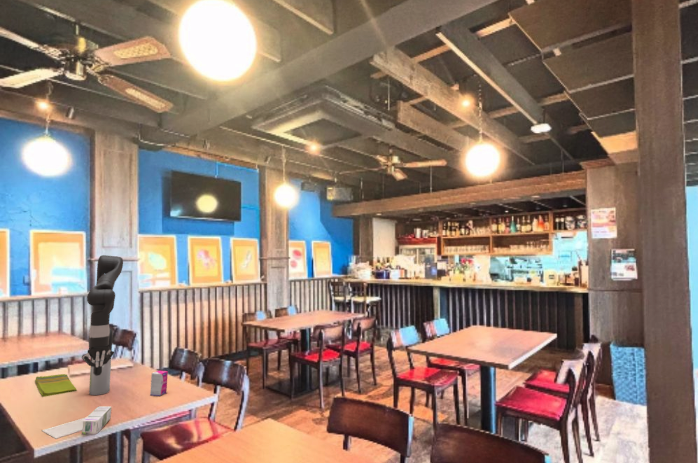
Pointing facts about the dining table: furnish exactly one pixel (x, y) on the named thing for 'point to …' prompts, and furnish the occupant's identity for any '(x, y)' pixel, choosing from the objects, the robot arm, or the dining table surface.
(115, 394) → the dining table surface
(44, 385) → the dish towel
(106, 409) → the syrup box
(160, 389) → the supplement box
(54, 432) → the white rectangular panel
